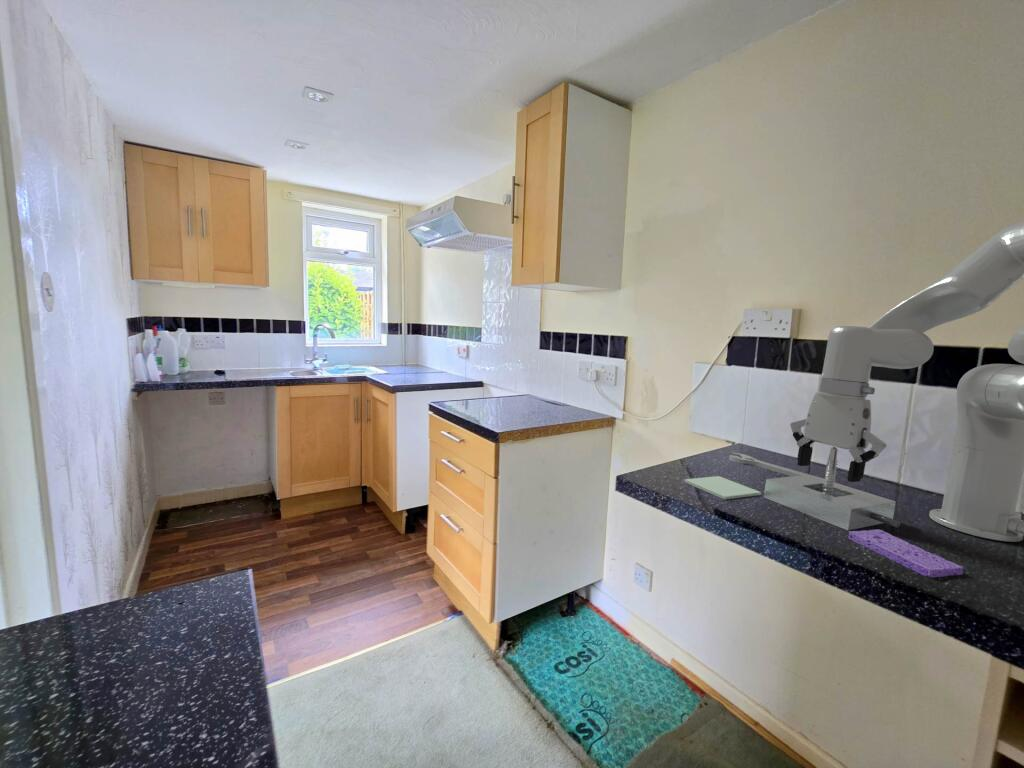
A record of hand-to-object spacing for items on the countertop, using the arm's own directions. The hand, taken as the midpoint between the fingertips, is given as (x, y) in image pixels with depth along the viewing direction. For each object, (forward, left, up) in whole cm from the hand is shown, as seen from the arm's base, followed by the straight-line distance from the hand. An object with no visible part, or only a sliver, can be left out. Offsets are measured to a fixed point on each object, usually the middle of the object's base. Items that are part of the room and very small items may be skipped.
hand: (827, 472), depth 90 cm
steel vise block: (-2, 0, -7) cm, 8 cm away
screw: (0, 0, -8) cm, 8 cm away
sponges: (-17, +8, -8) cm, 21 cm away
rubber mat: (+15, +12, -8) cm, 20 cm away
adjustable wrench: (+22, -16, -8) cm, 29 cm away
